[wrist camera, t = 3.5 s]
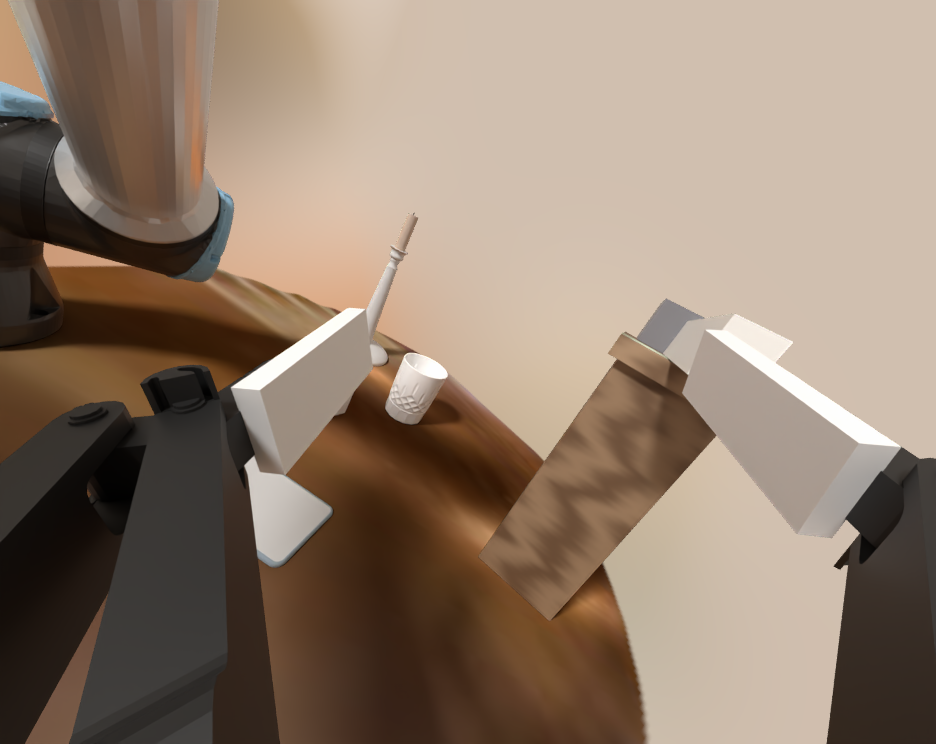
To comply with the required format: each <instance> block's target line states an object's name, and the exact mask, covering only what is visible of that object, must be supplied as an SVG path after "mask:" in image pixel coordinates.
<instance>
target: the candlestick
mask: <svg viewBox="0 0 936 744" xmlns="http://www.w3.org/2000/svg"><path fill="white" fill-rule="evenodd" d="M417 220H418V218H417V217H416V216H414V214H413V215H412V214H410V213H408V215H407V218H406V220H405V223H404V225H403V227H402V230H401V233H400V235H399V237H398V240H397V243H396V245H395V246H394V245H391V247H392V251H391V253H390V256H391V258H390V263H389V264H387V267H386V269H385V271H384V274H383V276H382V278H381V280H380V282H379V284H378V286H377V289H376V291H375V293H374V295H373V297H372V299H371V301H370V303H369V305H368V308H367V310H366V315H367V324H368V332H369V340H370V348H371V357H372V365H373V366H382V365H384V364H385V363H386V362H387V359H388V356H387V353H386V352H385V350H384V349H383V348H382V346H381V345H379V344H378V343H377V342H376V341H374V340H373V335H374V332H375V330H376V327H377V324H378V321H379V318H380V315H381V313H382V310H383V307H384V304H385V301H386V299H387V296H388V293H389V290H390V287H391V284H392V282H393V279H394V276H395V273H396V270H397V265H398V264H399V261H402V260H403V257H404V256H405V255H406V254H408V253H407V252H406V251H405V249H406V246H407V244H408V242H409V239H410V237H411V234H412V232H413V230H414V227H415V225H416V222H417Z"/></svg>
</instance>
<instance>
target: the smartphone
mask: <svg viewBox="0 0 936 744" xmlns="http://www.w3.org/2000/svg"><path fill="white" fill-rule="evenodd" d="M244 466H245V469H246V471H247V474H248V480H249V488H250V497H251V505H252V514H253V522H254V531H255V539H256V547H257V556H258V558H259V559H260V560H261V561H263V562H264V563H266V564H267V565H269V566H270V567H280V566H282V565H284V564H285V563H286V562H287V561H288V560H289V559H290V558H291V557H292V556H293V555H294V554H295V552H296V551H298V549H300V547H302V546H303V545H304V544H305V543H306V541H307V540H308V539H309V538H310V537H311V536H312V535H313V534H314V533H315V532H316V531H317V530H318V529H319V528H320V527H321V526H322V525H323V524H324V523H325V522H326V521H327V520H328V519H329V518H330V517H331V516H332V514H333V509H332V507H331V506H330V505H328V504H327V503H325V502H324V501H322V500H321V499H319V498H318V497H316V496H315V495H314V494H312V493H311V492H309V491H308V490H306V489H305V488H303V487H302V486H300V485H299V484H298V483H296V482H295V481H293V480H292V479H290V478H289V477H287V476H286V475H280V474H272V473H263V472H260V471H259V468H258V465H257V462H256V460H255V457H254V456H253V457H252V458H251V459H250V460H249V461H248V462H247V463H246V464H245V465H244Z"/></svg>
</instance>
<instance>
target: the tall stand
mask: <svg viewBox="0 0 936 744" xmlns="http://www.w3.org/2000/svg"><path fill="white" fill-rule="evenodd" d="M608 354H610V355H611V356H613V357H615V358H617V360H616V361H615V362H614V364H613V366H612V367H611V368H610V369H609V371H608V373H607V374H606V375H605V377H604V378H603V379H602V381H601V382H600V384H599V385H598V386H597V388H596V389H595V391H594V392H593V393H592V395H591V396H590V398H589V399H588V401H587V402H586V403H585V405H584V406H583V408H582V409H581V410H580V412H579V413H578V415H577V416H576V418H575V419H574V420H573V422H572V423H571V425H570V426H569V428H568V429H567V430H566V432H565V433H564V434H563V436H562V438H561V439H560V440H559V442H558V443H557V444H556V446H555V447H554V449H553V450H552V452H551V453H550V454H549V456H548V457H547V459H546V460H545V461H544V463H543V464H542V466H541V467H540V468H539V470H538V471H537V473H536V474H535V475H534V477H533V478H532V480H531V481H530V483H529V484H528V485H527V487H526V488H525V490H524V491H523V492H522V494H521V495H520V497H519V498H518V500H517V501H516V502H515V504H514V505H513V507H512V508H511V509H510V511H509V512H508V514H507V515H506V517H505V518H504V520H503V521H502V523H501V524H500V525H499V527H498V528H497V530H496V531H495V533H494V534H493V536H492V537H491V538H490V540H489V541H488V543H487V544H486V546H485V547H484V549H483V550H482V552H481V553H480V554H479V556H478V557H479V558H480V559H481V560H482V561H483V562H484V563H485V564H487V565H488V566H489V567H490V568H491V569H492V570H493V571H494V572H495V573H497V574H498V575H499V576H500V577H501V578H502V579H503V580H504V581H505V582H507V583H508V584H509V585H510V586H511V587H512V588H513V589H514V590H515V591H516V592H518V593H519V594H520V595H521V596H522V597H523V598H524V599H525V600H526V601H528V602H529V603H530V604H531V605H532V606H533V607H534V608H535V609H536V610H538V611H539V612H540V613H541V614H542V615H543V616H544V617H545V618H546V619H547V620H549V621H550V620H551V619H552V618H553V617H554V616H555V615H556V614H557V613H558V611H559V610H560V609H561V608H562V607H563V606H564V605H565V604H566V603H567V601H568V600H569V599H570V598H571V597H572V596H573V595H574V594H575V593H576V591H577V590H578V589H579V588H580V587H581V586H582V585H583V584H584V582H585V581H586V580H587V579H588V578H589V577H590V576H591V575H592V574H593V572H594V571H595V570H596V569H597V568H598V567H599V566H600V565H601V564H602V562H603V561H604V560H605V559H606V558H607V557H608V556H609V555H610V553H611V552H612V551H613V550H614V549H615V548H616V547H617V546H618V545H619V543H620V542H621V541H622V540H623V539H624V538H625V537H626V535H628V533H629V532H630V531H631V530H632V529H633V528H634V527H635V526H636V525H637V523H638V522H639V521H640V520H641V519H642V518H643V517H644V516H645V514H646V513H647V512H648V511H649V510H650V509H651V508H652V507H653V505H655V503H656V502H657V501H658V500H659V499H660V498H661V496H663V495H664V493H665V492H666V491H667V490H668V489H669V488H670V487H671V486H672V484H673V483H674V482H675V481H676V480H677V479H678V478H679V477H680V476H681V474H682V473H683V472H684V471H685V470H686V469H687V468H688V467H689V466H690V464H691V463H692V462H693V461H694V460H695V459H696V457H698V455H699V454H700V453H701V452H702V451H703V450H704V449H705V448H706V447H707V445H708V444H709V443H710V442H711V441H712V440H713V439H714V438H715V436H716V434H715V433H714V432H713V430H712V429H711V428H710V427H709V425H708V424H707V423H706V422H705V421H704V419H703V418H702V417H701V416H700V414H699V413H698V412H697V411H696V409H695V408H694V407H693V406H692V405H691V403H690V402H689V401H688V400H687V398H686V397H685V396H684V395H683V393H682V392H683V389H684V386H685V384H686V381H687V378H688V374H686V373H685V372H684V371H683V370H682V369H681V368H679V367H678V366H677V365H676V364H675V363H673V362H672V361H671V360H670V359H669V358H668V357H666V356H665V355H664V354H663V353H661V352H659V351H657V350H656V349H654V348H652V347H650V346H648V345H647V344H645V343H643V342H641V341H639V340H638V339H637V338H635V337H634V336H632V335H630V334H628V333H627V332H625V333H622V334H621V335H620V337H619V338H618V340H617V341H616V342H615V344H614V345H613V347H612V348H611V350H610V351H609V353H608Z"/></svg>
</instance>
